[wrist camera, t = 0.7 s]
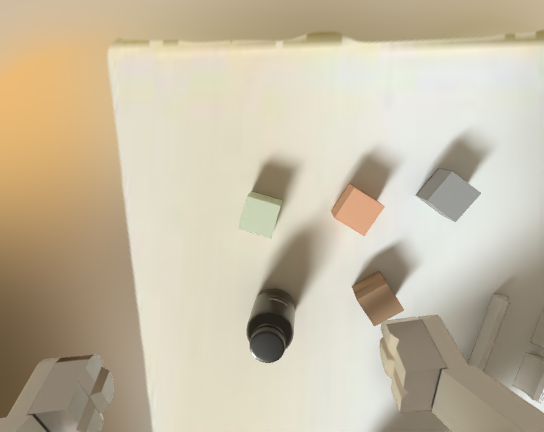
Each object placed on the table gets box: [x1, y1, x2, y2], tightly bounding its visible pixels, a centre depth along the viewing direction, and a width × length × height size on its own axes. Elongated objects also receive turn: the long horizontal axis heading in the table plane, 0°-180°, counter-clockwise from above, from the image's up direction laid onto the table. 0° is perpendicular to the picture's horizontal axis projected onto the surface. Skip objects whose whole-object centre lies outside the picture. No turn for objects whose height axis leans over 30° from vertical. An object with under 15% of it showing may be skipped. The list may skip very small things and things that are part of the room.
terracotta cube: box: [331, 184, 385, 236], centre depth 52 cm, size 5×5×5 cm
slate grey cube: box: [416, 169, 481, 222], centre depth 50 cm, size 5×5×5 cm
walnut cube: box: [352, 271, 404, 326], centre depth 54 cm, size 5×5×5 cm
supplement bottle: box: [247, 289, 295, 363], centre depth 53 cm, size 7×7×12 cm
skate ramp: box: [468, 294, 544, 403], centre depth 55 cm, size 15×13×5 cm
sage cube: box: [238, 191, 282, 238], centre depth 53 cm, size 5×5×5 cm
